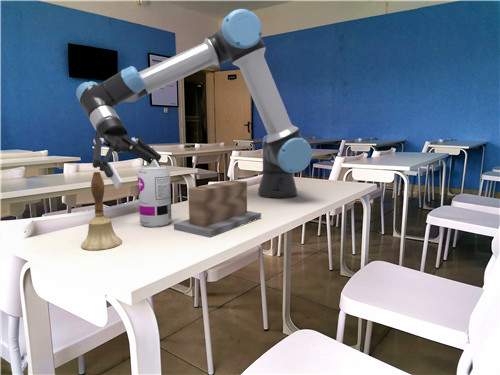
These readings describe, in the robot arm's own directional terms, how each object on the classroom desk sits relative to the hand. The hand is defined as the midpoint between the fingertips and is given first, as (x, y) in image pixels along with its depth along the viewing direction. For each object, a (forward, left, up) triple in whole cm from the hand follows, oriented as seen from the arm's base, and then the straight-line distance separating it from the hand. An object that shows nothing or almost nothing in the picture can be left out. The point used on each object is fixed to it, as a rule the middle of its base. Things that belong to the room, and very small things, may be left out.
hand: (142, 182), depth 94 cm
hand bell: (+14, +14, -11) cm, 22 cm away
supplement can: (-2, +4, -11) cm, 12 cm away
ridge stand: (-16, +14, -11) cm, 24 cm away
